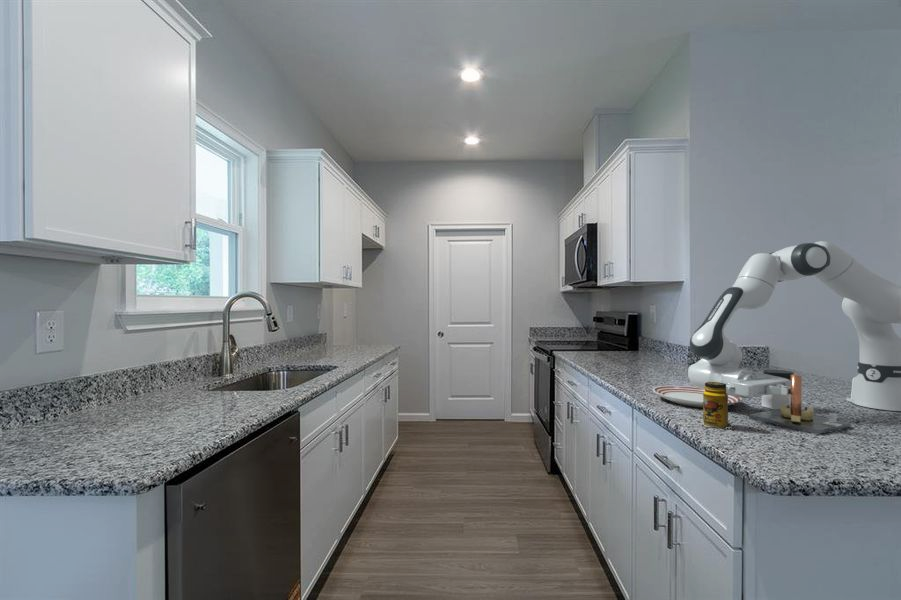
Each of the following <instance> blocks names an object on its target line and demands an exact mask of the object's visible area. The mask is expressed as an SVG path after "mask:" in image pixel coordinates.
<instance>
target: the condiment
mask: <svg viewBox="0 0 901 600" xmlns="http://www.w3.org/2000/svg"><path fill="white" fill-rule="evenodd" d="M702 410H703V411H702V412H703V414H702V417H703V418H702V419H701V418H700V425H702V423H704V425H706V426H703V427H706V428H711V427H715V428H714V429H721V428H725V429H724V430H733V428H732V425H731V422H730V421H729V405H728V394H727V393H726V384H724V383H719V382H706V383H705V391H704V393H703V407H702ZM708 426H709V427H708ZM726 427H731V429H730V428H728V429H727V428H726Z"/></svg>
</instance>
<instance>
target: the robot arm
mask: <svg viewBox="0 0 901 600" xmlns="http://www.w3.org/2000/svg"><path fill="white" fill-rule="evenodd" d="M809 276H815V277H816V278H817V279H818V280H819V281H821V282H822V284H824V285H825V286H827V287H828V288H829V289H830V290H832V292H834V293H835V294H836V295H838V296H840V297H842V298H843V300H842V302H841V310H842V312H843V314H844V315H845V316H846V317H848V319H849V320H850V321H851V322H852V324H853V327H854V329H855V332H856V335H857V339H858V347H859V349H858V351H859V353H858V354H859V355H858V356H859V361H858V363H857V366H856V369H857V373H858V374H857V375H856V376H854V377H853V378H852V380H851V381H852V382H851V393H850V396H849V397H846V399H845V400H846V401H847V402H850V403H852V404H854V405H857V406H860V407H864V408H871V409H875V410H877V409H878V410H882V411H883V410H884V411H890V412H891V411H893V412H901V336H899V335H898V334H897V333H896V331H895V329H894V326H893V325H892V324H899V325H901V286H900V285H898V284H896V283H894V282H892V281H889V280H887V279H885V278H884V277H882V276H880V275H877V274H875V272H872V271H871V270H869V269H868V268H867V267H866V266H864V265H863V264H862V263H860V262H859V261H858V260H856V258H854V257H853V256H852V255H850V254H849V253H848V252H846V251H845V250H843V249H841V248H840V247H838V246H836V245H835V244H833V243H830V242H829V241H825V240H820V241H815V242H805V243H800V244H797V245H792V246H791V245H790V246H787V247H784V248H782V249H779V250H777V251H772V252H770V253H766V252H765V253H764V252H758V253H755V254H752V255H751V256H750V257H749V259H748V260H747V261H746V262H745V264H744V265H743V267H742V269H741V270H740V272H739V274H738V276H737V278H736V280H735V282H734V283H733V285H732V286H731V287H729V288H726V289H725V290H724V291H723V292H722V294H721V295H720V296H719V298H718V299H717V300H716V302H715V303H714V305H713V306H712V308H711V309H710V311H709V312H708V314H707V316H706V317H705V319H704V321H703V322H702V323H701V325H700V326H698V328H697V329H696V330H695V331H694V332H693V333H692V335H691V336H690V339H689V349H690V350H691V352H692V354H694V355H695V356H697V357H699V358H700V359H699V360H698V361H697V362H695V363H693V364H691V365H690V366H689V367H688V369H687V378H688V380H689V382H690V383H691V385H692V386H693V387H697V388H699V389H702V390H705V383H706V382H719V383H724V384H726V393H727V394H728V395H730V396H735V397H740V398H742V399H748V398H755V397H762V396H763V395H770V394H783V395H788V394H791V381H790V380H789V379H786V378H782V377H777V376H773V375H768V374H763V371H760V370H750V369H745V368H741V365H742V362H743V361H744V360H743V359H744V353H743V350H742V349H741V347H740V346H738V345H737V344H736V343H734V342H733V341H731V340H730V339H729V338H727V337H726V335H725V334H724V331H725V328H726V326H727V325H728V323H729V322H730V320H731V319H732V317H733V315H734V314H735V312H736V311H737V310H739V309H743V310H744V309H745V310H756V309H760V308H763V307H765V306H766V305H767V304H768V302H769V301H770V300H771V297H772V296H773V293H774V291H775V288H776V286H777V284H778V283H780V282H784V281H785V282H786V281H787V282H788V281H795V280H799V279H803V278H806V277H809Z"/></svg>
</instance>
